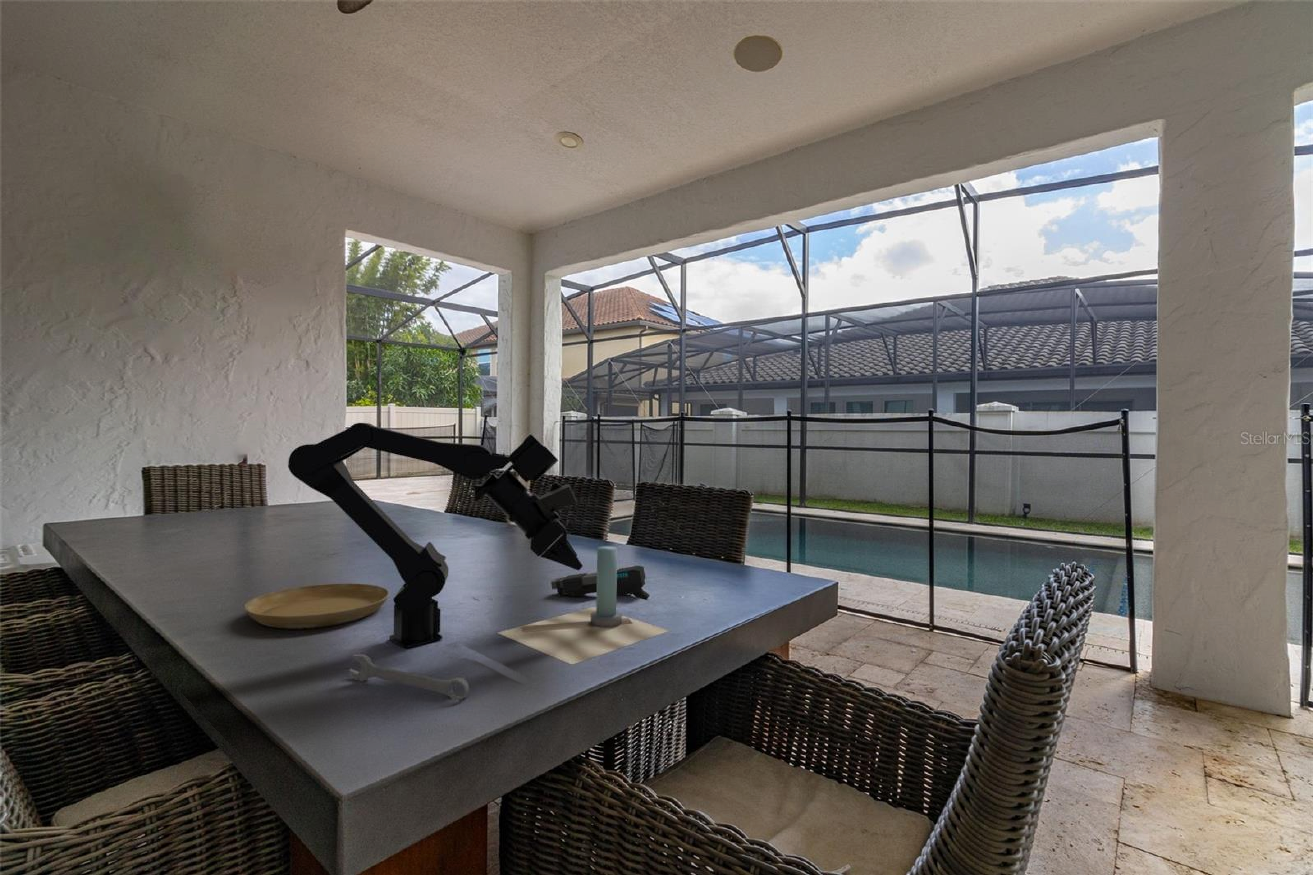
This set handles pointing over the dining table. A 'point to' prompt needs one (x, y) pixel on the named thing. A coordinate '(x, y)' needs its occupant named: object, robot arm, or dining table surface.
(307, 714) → the dining table surface
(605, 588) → the marker post
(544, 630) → the board
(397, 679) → the combination wrench
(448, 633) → the dining table surface
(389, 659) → the dining table surface
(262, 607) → the plant saucer
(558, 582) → the gun
